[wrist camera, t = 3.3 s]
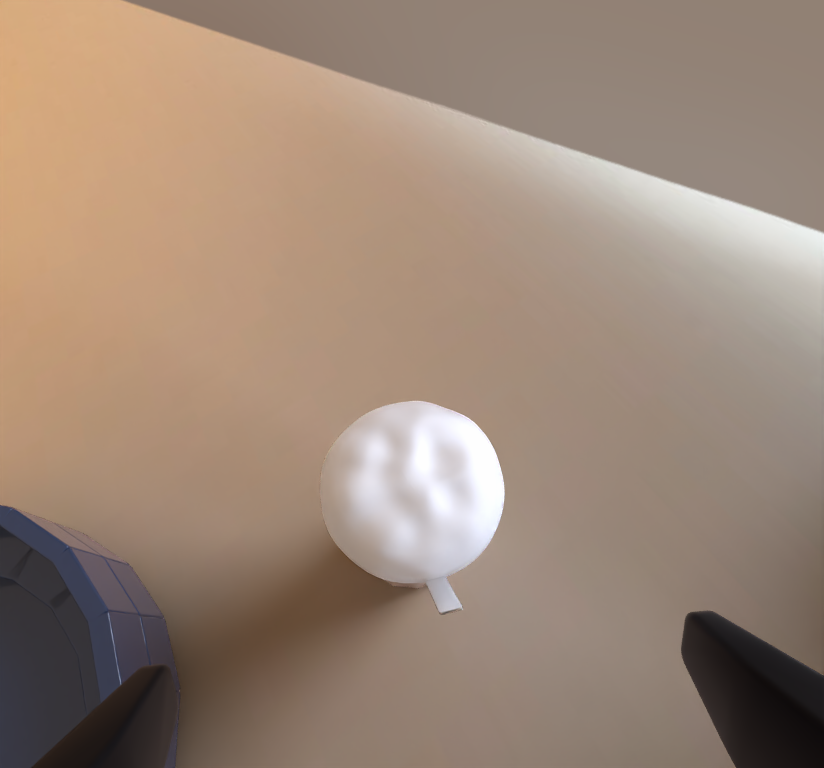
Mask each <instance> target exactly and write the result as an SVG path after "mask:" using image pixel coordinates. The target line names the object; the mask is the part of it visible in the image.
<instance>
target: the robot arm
mask: <svg viewBox="0 0 824 768" xmlns="http://www.w3.org/2000/svg"><path fill="white" fill-rule="evenodd" d="M681 653H682V658H683V661H684V664H685V666H686V668H687V670H688V672H689V674H690V676H691V678H692V680H693V682H694V684H695V687H696V689H697V691H698V693H699V695H700V697H701V699H702V701H703V703H704V705H705V707H706V709H707V711H708V713H709V715H710V717H711V719H712V722H713V724H714V726H715V728H716V730H717V732H718V734H719V736H720V738H721V740H722V742H723V744H724V746H725V748H726V750H727V752H728V754H729V756H730V757H731V759H732V761H733V763H734V764H735V766H736V768H824V676H823V675H822V674H820V673H818V672H816V671H815V670H813V669H811V668H810V667H808V666H806V665H804V664H803V663H801V662H799V661H798V660H796V659H794V658H792V657H791V656H789V655H787V654H785V653H784V652H782V651H780V650H779V649H777V648H775V647H773V646H772V645H770V644H768V643H767V642H765V641H763V640H761V639H760V638H758V637H756V636H755V635H753V634H751V633H749V632H748V631H746V630H744V629H743V628H741V627H739V626H737V625H736V624H734V623H732V622H731V621H729V620H727V619H725V618H724V617H722V616H720V615H719V614H717V613H715V612H712V611H698V612H690V613H688V614H687V616H686V618H685V624H684V631H683V638H682V646H681ZM177 714H178V698H177V694H176V690H175V686H174V682H173V678H172V674H171V670H170V668H169V666H168V665H166V664H156V665H146V666H143V667H141V668H139V669H138V670H137V671H135V672H134V673H133V674H132V675H131V676H130V677H129V678H128V679H127V680H126V681H125V682H123V683H122V684H121V685H120V686H119V687H118V688H117V689H116V690H115V691H114V692H113V693H112V694H110V695H109V696H108V697H107V698H106V699H105V700H104V701H103V702H102V703H101V704H100V705H98V706H97V707H96V708H95V709H94V710H93V711H92V712H91V713H90V714H89V715H88V716H87V717H85V718H84V719H83V720H82V721H81V722H80V723H79V724H78V725H77V726H76V727H75V728H73V729H72V730H71V731H70V732H69V733H68V734H67V735H66V736H65V737H64V738H63V739H62V740H60V741H59V742H58V743H57V744H56V745H55V746H54V747H53V748H52V749H51V750H50V751H48V752H47V753H46V754H45V755H44V756H43V757H42V758H41V759H40V760H39V761H38V762H37V763H35V764H34V765H33V766H32V767H31V768H164V767H165V763H166V759H167V755H168V751H169V747H170V743H171V739H172V735H173V731H174V727H175V723H176V719H177Z"/></svg>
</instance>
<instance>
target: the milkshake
mask: <svg viewBox="0 0 824 768" xmlns="http://www.w3.org/2000/svg"><path fill="white" fill-rule="evenodd" d="M320 500H321V508H322V514H323V518H324V522H325V525H326V527H327V530H328V532H329V534H330V536H331V537H332V539H333V540H334V542H335V543H336V545H337V546H338V547H339V548H340V549H341V550H342V552H343V553H344V554H345V555H346V556H347V557H348V558H350V559H351V560H352V561H353V562H354V563H355V564H357V565H358V566H359V567H360V568H362V569H363V570H365V571H366V572H368V573H370V574H372V575H374V576H376V577H378V578H381V579H384V580H385V581H386V582H388V583H389V584H390V585H391V586H400V587H410V588H421V587H423V586H424V585H426V584H427V587H428V589H429V591H430V594H431V596H432V598H433V601H434V603H435V605H436V608H437V610H438V612H439V614H441V615H445V614H449V613H453V612H457V611H460V610H462V609H463V606H462V604H461V603H460V601H459V599H458V597H457V596H456V594H455V592H454V590H453V589H452V587H451V585H450V583H449V582H448V580H447V578H446V577H447V576H450V575H452V574H454V573H456V572H458V571H460V570H461V569H463V568H465V567H466V566H468V565H469V564H470V563H472V562H473V561H474V560H475V559H476V558H477V557H478V556H479V555H480V554H481V553H482V552H483V551H484V549H485V548H486V547H487V545H488V544H489V542H490V541H491V539H492V537H493V535H494V533H495V531H496V529H497V527H498V524H499V521H500V518H501V515H502V511H503V505H504V482H503V477H502V472H501V468H500V464H499V461H498V458H497V455H496V453H495V450H494V448H493V446H492V444H491V443H490V441H489V439H488V438H487V436H486V435H485V434H484V433H483V431H482V430H481V429H480V428H479V427H478V426H477V425H476V424H475V423H474V422H473V421H472V420H470V419H469V418H467V417H466V416H464V415H462V414H460V413H458V412H455V411H452V410H450V409H447V408H444V407H441V406H439V405H436V404H433V403H429V402H424V401H407V402H400V403H394V404H390V405H386V406H383V407H380V408H377V409H374V410H372V411H370V412H368V413H366V414H365V415H363V416H361V417H360V418H359V419H357V420H356V421H355V422H353V423H352V424H351V425H350V426H349V427H348V428H347V429H346V430H345V431H343V432H342V433H341V434H340V436H339V437H338V438H337V439H336V440H335V442H334V443H333V444H332V446H331V447H330V449H329V451H328V453H327V455H326V457H325V460H324V463H323V466H322V470H321V475H320Z"/></svg>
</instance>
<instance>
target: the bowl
mask: <svg viewBox="0 0 824 768" xmlns="http://www.w3.org/2000/svg"><path fill="white" fill-rule="evenodd" d="M163 618H164V616H163V614H162V613H161V611H160V610H159V608H158V607H157V605H156V604H155V602H154V601H153V599H152V597H151V596H150V594H149V593H148V591H147V590H146V588H145V587H144V585H143V584H142V582H141V581H140V579H139V577H138V576H137V574H136V573H135V571H134V570H133V568H132V567H131V566H130V565H129V564H128V563H127V562H125V561H124V560H122V559H121V558H119V557H118V556H116V555H115V554H113V553H112V552H110V551H109V550H107V549H106V548H104V547H103V546H102V545H100V544H99V543H97V542H96V541H94V540H93V539H91V538H90V537H88V536H87V535H85V534H84V533H81V532H79V531H76V530H73V529H70V528H68V527H65V526H62V525H59V524H57V523H54V522H51V521H48V520H46V519H43V518H40V517H37V516H35V515H32V514H29V513H26V512H23V511H21V510H18V509H15V508H12V507H8V506H3V505H0V768H31V767H32V766H33V765H34V764H35V763H37V762H38V761H39V760H40V759H41V758H42V757H43V756H44V755H45V754H46V753H47V752H48V751H50V750H51V749H52V748H53V747H54V746H55V745H56V744H57V743H58V742H59V741H60V740H62V739H63V738H64V737H65V736H66V735H67V734H68V733H69V732H70V731H71V730H72V729H73V728H75V727H76V726H77V725H78V724H79V723H80V722H81V721H82V720H83V719H84V718H85V717H87V716H88V715H89V714H90V713H91V712H92V711H93V710H94V709H95V708H96V707H97V706H98V705H100V704H101V703H102V702H103V701H104V700H105V699H106V698H107V697H108V696H109V695H110V694H112V693H113V692H114V691H115V690H116V689H117V688H118V687H119V686H120V685H121V684H122V683H123V682H125V681H126V680H127V679H128V678H129V677H130V676H131V675H132V674H133V673H134V672H135V671H137V670H138V669H139V668H141V667H143V666H146V665H156V664H166V665H168V666H169V668H170V670H171V674H172V678H173V682H174V686H175V690H176V694H177V698H178V714H177V719H176V723H175V727H174V731H173V735H172V739H171V743H170V747H169V751H168V755H167V759H166V763H165V767H164V768H175V761H176V747H177V734H178V720H179V706H180V691H179V690H180V684H179V680H178V675H177V671H176V666H175V662H174V657H173V653H172V649H171V644H170V640H169V635H168V631H167V626H166V622H165V619H163Z"/></svg>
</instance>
